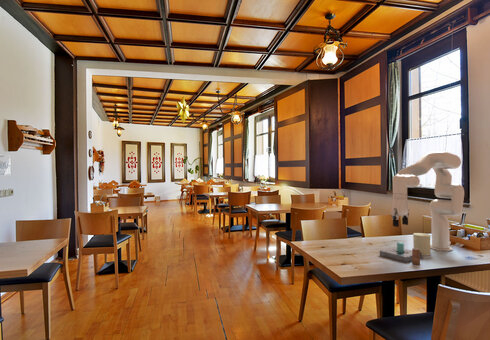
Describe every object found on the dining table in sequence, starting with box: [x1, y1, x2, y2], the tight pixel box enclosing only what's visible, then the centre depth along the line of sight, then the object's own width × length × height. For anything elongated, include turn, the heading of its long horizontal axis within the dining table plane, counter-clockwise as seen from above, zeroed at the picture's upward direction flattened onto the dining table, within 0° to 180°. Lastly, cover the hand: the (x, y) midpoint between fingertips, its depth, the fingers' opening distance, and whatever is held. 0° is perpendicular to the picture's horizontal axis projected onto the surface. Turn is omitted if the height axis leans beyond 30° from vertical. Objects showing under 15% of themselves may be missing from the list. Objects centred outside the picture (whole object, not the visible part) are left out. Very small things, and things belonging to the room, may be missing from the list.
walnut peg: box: [411, 247, 421, 266], centre depth 156 cm, size 4×4×8 cm
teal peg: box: [396, 242, 405, 253], centre depth 170 cm, size 4×4×8 cm
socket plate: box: [379, 246, 423, 264], centre depth 170 cm, size 16×16×3 cm
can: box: [412, 232, 432, 256], centre depth 177 cm, size 9×9×12 cm
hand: (400, 225), depth 170 cm, fingers open, 9 cm apart
